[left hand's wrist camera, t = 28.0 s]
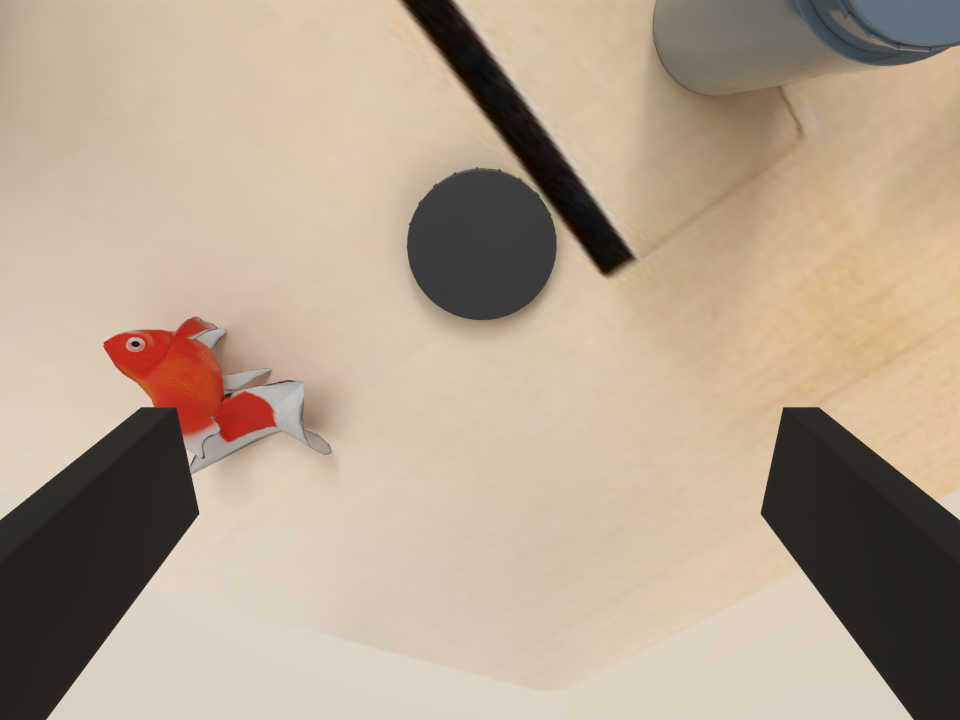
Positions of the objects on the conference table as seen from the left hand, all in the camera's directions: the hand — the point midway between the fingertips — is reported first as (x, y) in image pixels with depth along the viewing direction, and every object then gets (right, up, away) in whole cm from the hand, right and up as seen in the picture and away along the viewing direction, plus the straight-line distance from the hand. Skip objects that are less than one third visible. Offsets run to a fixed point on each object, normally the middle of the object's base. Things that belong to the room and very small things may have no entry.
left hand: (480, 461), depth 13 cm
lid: (0, +10, +25) cm, 27 cm away
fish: (-17, +1, +31) cm, 35 cm away
